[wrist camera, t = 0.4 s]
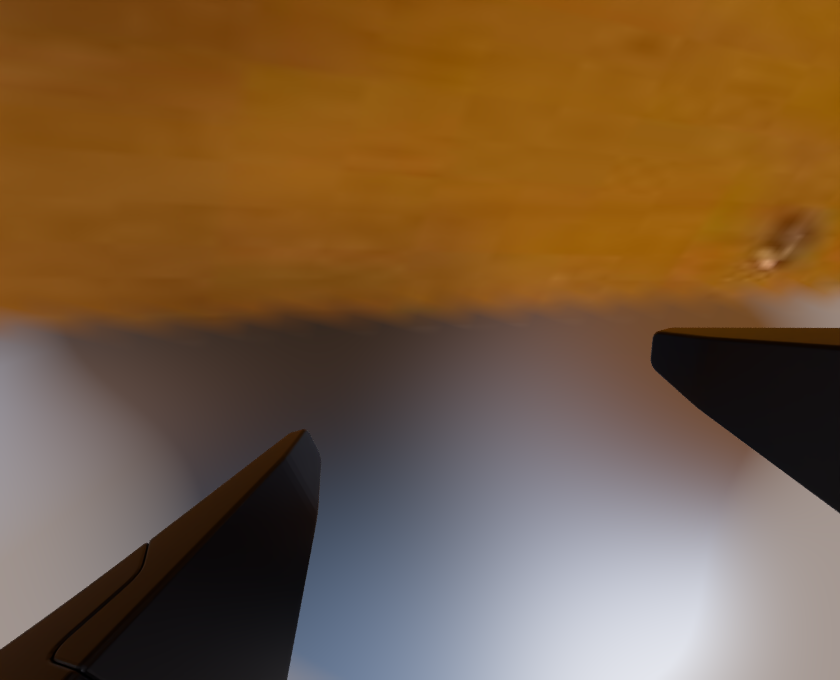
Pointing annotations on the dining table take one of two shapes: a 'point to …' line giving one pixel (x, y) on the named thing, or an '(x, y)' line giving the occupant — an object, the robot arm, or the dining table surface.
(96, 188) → the dining table surface
